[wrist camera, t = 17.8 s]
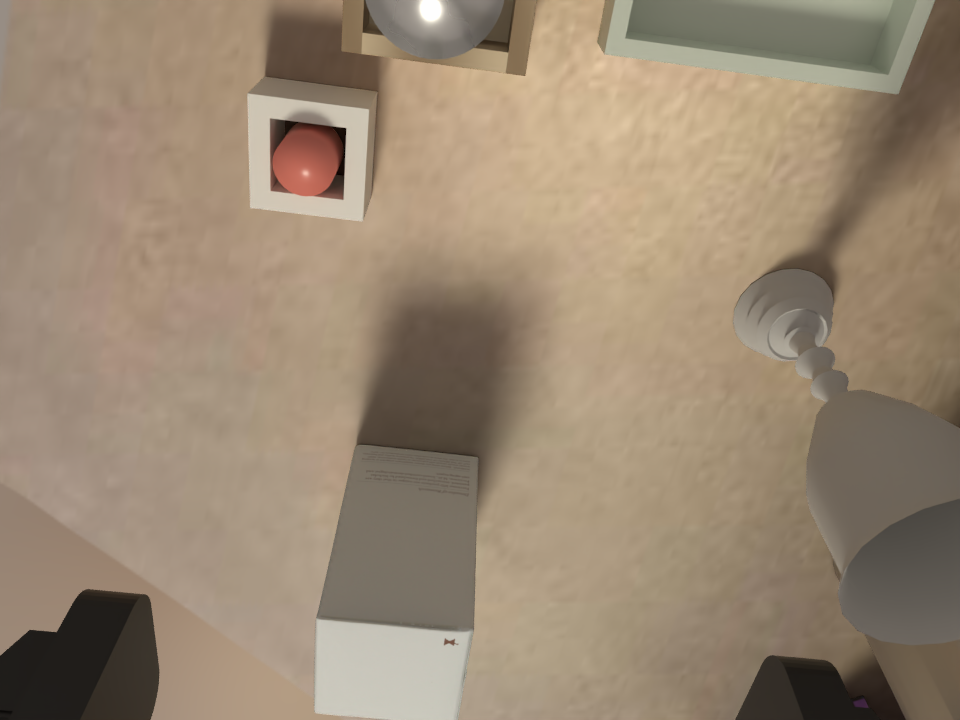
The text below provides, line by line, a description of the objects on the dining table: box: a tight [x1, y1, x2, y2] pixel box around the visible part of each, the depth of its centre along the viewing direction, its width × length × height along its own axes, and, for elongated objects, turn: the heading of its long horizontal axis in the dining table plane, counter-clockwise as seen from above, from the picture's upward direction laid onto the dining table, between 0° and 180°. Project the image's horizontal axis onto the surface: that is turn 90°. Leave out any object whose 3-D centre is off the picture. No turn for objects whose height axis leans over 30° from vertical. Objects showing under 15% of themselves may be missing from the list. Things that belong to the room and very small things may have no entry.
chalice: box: [733, 269, 960, 645], centre depth 34 cm, size 7×7×18 cm
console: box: [247, 77, 377, 222], centre depth 36 cm, size 5×5×3 cm
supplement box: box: [314, 445, 479, 720], centre depth 43 cm, size 7×7×13 cm
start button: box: [273, 122, 343, 196], centre depth 35 cm, size 3×3×2 cm
